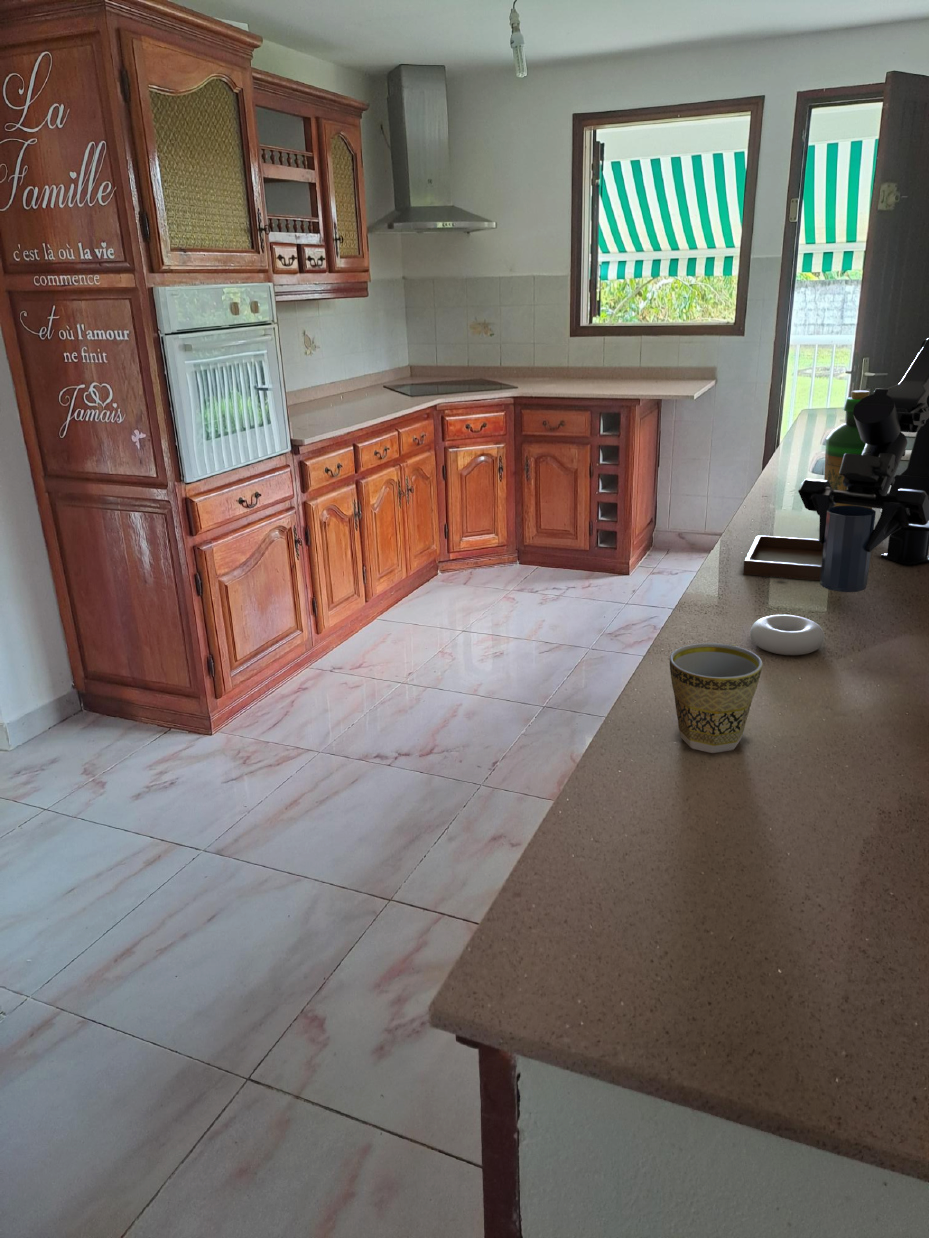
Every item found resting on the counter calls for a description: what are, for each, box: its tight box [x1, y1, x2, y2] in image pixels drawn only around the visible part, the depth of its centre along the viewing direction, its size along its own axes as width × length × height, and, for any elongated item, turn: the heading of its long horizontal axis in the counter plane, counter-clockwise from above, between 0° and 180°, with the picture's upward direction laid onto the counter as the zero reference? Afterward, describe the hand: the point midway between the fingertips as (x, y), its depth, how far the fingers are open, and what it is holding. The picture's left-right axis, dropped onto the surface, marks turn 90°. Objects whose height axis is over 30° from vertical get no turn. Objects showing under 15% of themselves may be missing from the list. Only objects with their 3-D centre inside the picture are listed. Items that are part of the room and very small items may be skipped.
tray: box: [742, 534, 824, 582], centre depth 161 cm, size 18×14×3 cm
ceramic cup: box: [668, 642, 763, 754], centre depth 101 cm, size 13×10×10 cm
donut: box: [749, 614, 825, 656], centre depth 126 cm, size 10×4×10 cm
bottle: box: [823, 389, 873, 509], centre depth 175 cm, size 11×11×28 cm
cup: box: [819, 506, 877, 593], centre depth 136 cm, size 7×7×12 cm
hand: (843, 546), depth 135 cm, fingers closed on cup, 7 cm apart
